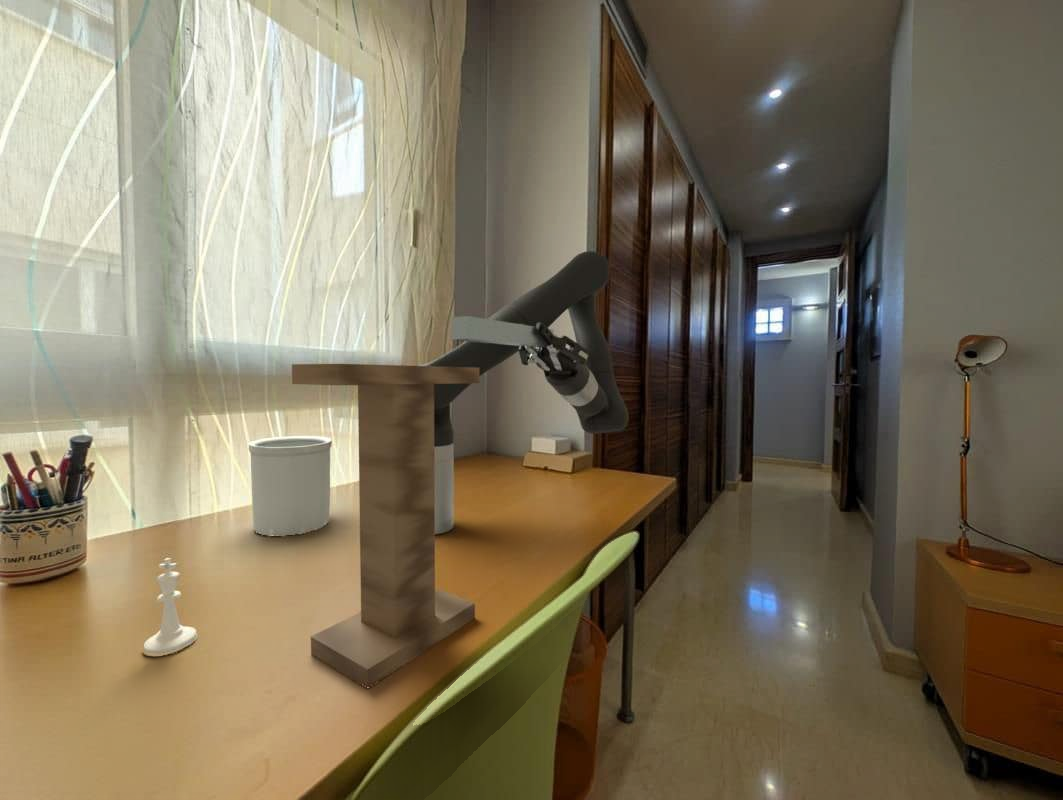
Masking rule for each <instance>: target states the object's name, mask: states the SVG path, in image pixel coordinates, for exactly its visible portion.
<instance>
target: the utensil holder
mask: <svg viewBox="0 0 1063 800" xmlns="http://www.w3.org/2000/svg"><path fill="white" fill-rule="evenodd" d="M332 444H333V443H332V439H331V438H330V437H324V436H317V435H316V436H314V435H313V436H312V435H311V436H310V435H296V436H295V435H294V436H291V435H290V436H279V437H269V438H268V437H267V438H261V439H256V440H254V441H250V442H249V443H248V451H249V453H250V474H251V475H250V479H251V480H250V481H251V504H252V505H251V507H252V508H251V510H252V524H253V525H252V526H253V531H254V530H255V531H256V532H257V533H259V534H264V535H274V536H277V535H278V536H281V537H286V536H285V535H293V536H295V535H294V534H299V533H304V534H306V533H305V532H308V533H310V532H309V531H312V530H315V529H318V528H320V529H321V527H322V528H324V527H325V526H327V525H326V524H327V523H328V524H329V521H330V505H331V503H330V501H331V448H332ZM324 525H325V526H324ZM323 526H324V527H323ZM318 530H319V529H318ZM255 531H254V532H255ZM315 531H316V530H315ZM312 532H313V531H312ZM257 533H256V534H257ZM259 534H258V535H259ZM283 535H284V536H283Z"/></svg>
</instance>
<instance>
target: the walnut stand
mask: <svg viewBox="0 0 1063 800" xmlns="http://www.w3.org/2000/svg"><path fill="white" fill-rule="evenodd" d="M291 383H292V385H310V386H313V385H315V386H316V385H317V386H357V406H358V407H357V408H358V410H357V412H358V413H357V416H358V417H357V419H358V421H357V422H358V423H357V424H358V481H359V482H358V483H359V484H358V487H359V490H358V491H359V495H358V496H359V498H358V499H359V500H358V501H359V547H360V548H359V557H360V558H359V559H360V560H359V563H360V565H359V566H360V612H358V613H355V614H353V615H352V616H350V617H348V618H346V619H344V620H342V621H339V622H338V623H336V624H334V625H333V624H332V625H331V626H330V627H328V628H327V627H326V629H324V630H320V631H318V632H317V633H315V634H313V635H311V636H310V655H312V656H313V657H315V658H317V660H320V661H322V662H323V663H325V664H326V665H329V667H331V668H333V669H335V670H336V671H338V672H339V673H341V674H343V675H344V676H346V677H347V676H348V677H347V678H349V677H350V679H351V680H352V679H354V680H355V681H354V680H353V681H354V682H356V681H357V682H359V683H361V684H363V685H364V686H366V687H370V686H371V685H373V684H375V683H376V682H378V681H379V682H381V681H382V680H384V679H385V678H384V677H386V676H387V677H389V676H390V675H391V673H392V674H393V673H395V672H396V671H398V670H399V669H401V668H402V667H403V666H406V665H407V664H408V663H410V662H412V661H413V660H414V659H416V658H417V657H419V656H420V655H422V654H423V653H425V652H426V651H427V650H429V649H430V648H432V647H434V646H435V645H437V644H438V643H440V642H441V641H443V640H444V639H446V638H447V637H448V636H451V635H452V634H453V633H455V632H456V631H458V630H460V629H461V628H462V627H464V626H465V625H467V624H468V623H470V622H472V621H473V620H474V619H475V618H476V602H473V601H470V600H468V599H465V598H462V597H461V596H457V595H456V594H451V593H449V592H447V591H444V590H441V589H438V588H436V565H435V564H436V562H435V561H436V559H435V558H436V553H435V552H436V551H435V549H436V548H435V547H436V546H435V545H436V541H435V540H436V538H435V537H436V534H435V494H434V384H457V383H472V384H480V377H479V368H475V367H438V366H418V365H403V364H401V365H398V364H393V365H392V364H391V365H390V364H363V363H361V364H359V363H311V364H310V363H308V364H307V363H306V364H304V363H301V364H300V363H298V364H295V363H294V364H293V363H292V364H291ZM406 663H407V664H406ZM401 666H402V667H401ZM400 667H401V668H400ZM398 668H399V669H398ZM397 669H398V670H397ZM394 671H395V672H394ZM388 675H389V676H388ZM387 677H386V678H387ZM383 678H384V679H383ZM381 679H382V680H381ZM380 680H381V681H380ZM357 682H356V683H357ZM379 682H378V683H379ZM359 683H358V684H359ZM376 684H377V683H376ZM376 684H375V685H376ZM364 686H363V687H364ZM373 686H374V685H373ZM370 688H371V687H370Z"/></svg>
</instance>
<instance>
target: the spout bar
mask: <svg viewBox="0 0 1063 800" xmlns="http://www.w3.org/2000/svg"><path fill="white" fill-rule="evenodd" d="M535 328H536V327H534V326H528V325H521V324H515V323H509V322H502V321H496V320H490V319H488V318H484V317H483V318H482V317H477V316H471V315H470V316H469V315H462V316H451V317H450V340H452V341H461V342H464V341H472V342H483V343H494V344H505V345H515V346H526V347H533V348H534V347H537V348H545V347H547V345H544V344H543V343H542V341H541V340H540V339H539V338H538V337H537V335H536V334H535ZM548 329H549V330H550V331H551V332H552V334H555V330H554V329H551V328H548Z"/></svg>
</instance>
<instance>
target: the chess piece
mask: <svg viewBox="0 0 1063 800" xmlns="http://www.w3.org/2000/svg"><path fill="white" fill-rule="evenodd" d="M177 567H178V563H177V562H173V563H172V557H167V558H164V561H163V563H160V564H158V570H162V569H163V570H164V573H162V574H160V575H158V577H157V579H156V581H157V583H158V584H159V587H160V589H161V591H162V593H161V594H159V595H158V596H157V598H156V600H157V602H158V603H159V602H160V603H163V608H162V609H163V611H162V619H161V626H160V630H159V631H158V632H157V633H156V634H154V635H152V636H150V637H149V638H148V639H147V640H146V641H145V642H144V643H143V649H144V650H145V652H146V653H148V654H153V655H154V654H155V655H156V654H157V655H158V654H165V653H169V652H173V651H175V650H177V649H181V648H183V647H186V646H188V645H189V644H191V643H192V642H194V640H195V639H196V638H197V639H198V634H197V632H198V631H197V629H196V628H195V627H192V626H183V625H182V624H180V621H179V617H178V613H177V612H178V611H177V606H176V599H178V598H180V597H181V596H182V593H181V591H179V590H176V587H177V584H178V581H179V578H180V572H177V571H172V570H173V569H177ZM197 639H196V640H197ZM194 643H195V642H194Z"/></svg>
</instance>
